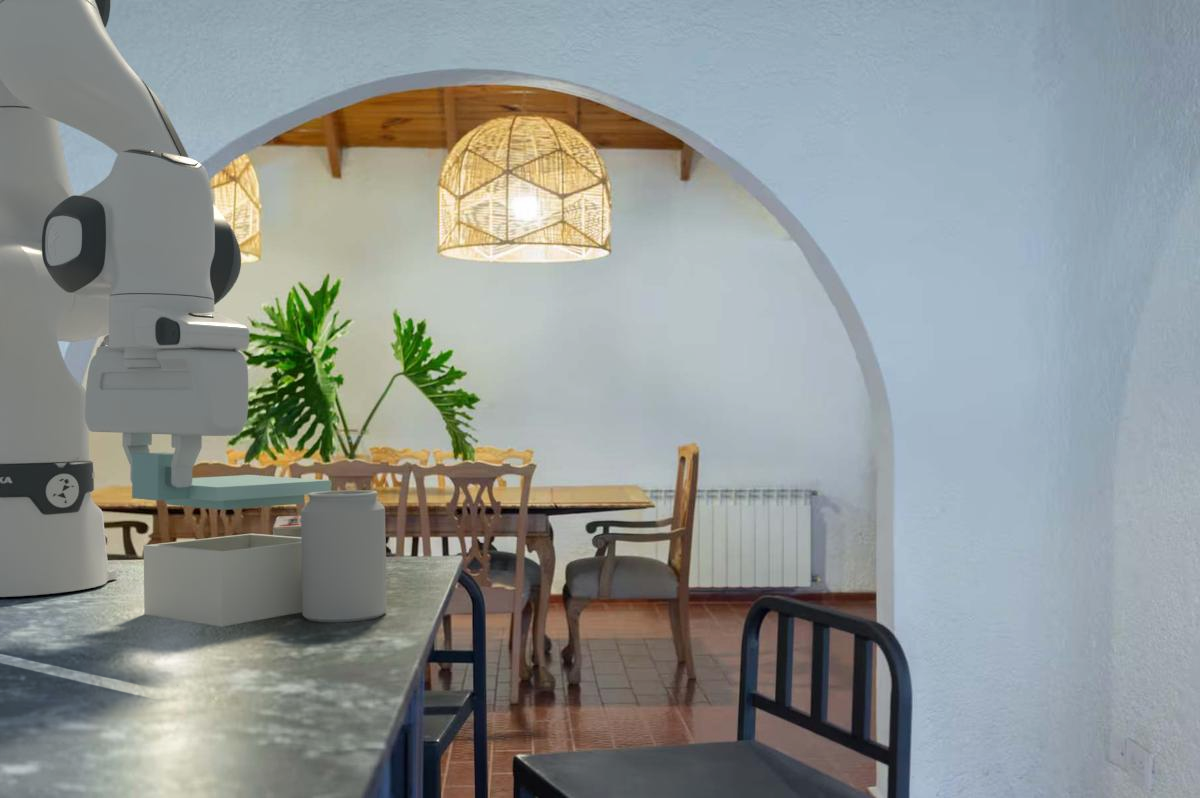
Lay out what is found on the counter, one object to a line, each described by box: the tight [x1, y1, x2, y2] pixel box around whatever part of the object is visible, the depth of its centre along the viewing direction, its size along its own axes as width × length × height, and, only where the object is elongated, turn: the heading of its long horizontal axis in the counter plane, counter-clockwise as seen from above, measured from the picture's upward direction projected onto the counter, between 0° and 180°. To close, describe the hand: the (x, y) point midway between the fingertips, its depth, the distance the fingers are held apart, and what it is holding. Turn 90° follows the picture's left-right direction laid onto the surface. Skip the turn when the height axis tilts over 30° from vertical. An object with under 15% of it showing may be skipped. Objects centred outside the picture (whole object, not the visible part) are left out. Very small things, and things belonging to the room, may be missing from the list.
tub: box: [143, 533, 302, 628], centre depth 110 cm, size 12×12×7 cm
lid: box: [131, 452, 332, 511], centre depth 109 cm, size 13×16×5 cm
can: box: [300, 489, 388, 624], centre depth 106 cm, size 8×8×12 cm
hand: (161, 485), depth 104 cm, fingers closed on lid, 4 cm apart
